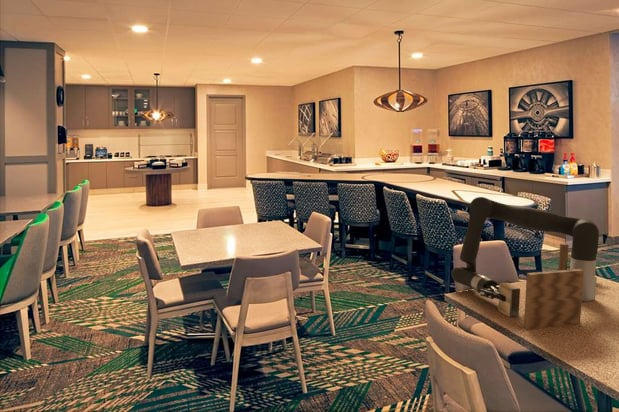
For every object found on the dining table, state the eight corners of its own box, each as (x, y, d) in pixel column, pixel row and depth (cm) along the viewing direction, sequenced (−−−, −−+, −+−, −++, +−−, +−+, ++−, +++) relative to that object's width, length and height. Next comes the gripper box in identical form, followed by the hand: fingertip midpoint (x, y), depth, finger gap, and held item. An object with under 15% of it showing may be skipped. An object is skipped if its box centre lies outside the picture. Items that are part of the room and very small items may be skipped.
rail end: (505, 309, 196) (507, 282, 195) (518, 316, 189) (520, 288, 187) (498, 310, 196) (499, 283, 194) (510, 317, 188) (512, 289, 186)
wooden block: (582, 285, 226) (585, 246, 224) (556, 281, 232) (559, 244, 229) (583, 283, 229) (586, 245, 227) (557, 280, 235) (560, 242, 233)
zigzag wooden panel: (566, 316, 188) (569, 265, 185) (580, 323, 181) (583, 270, 179) (515, 322, 183) (517, 269, 180) (527, 329, 176) (530, 274, 174)
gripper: (469, 278, 205) (493, 290, 189) (499, 275, 208) (526, 287, 192) (468, 295, 206) (492, 309, 190) (498, 293, 210) (525, 306, 193)
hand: (509, 298), depth 191 cm, fingers closed on rail end, 3 cm apart
